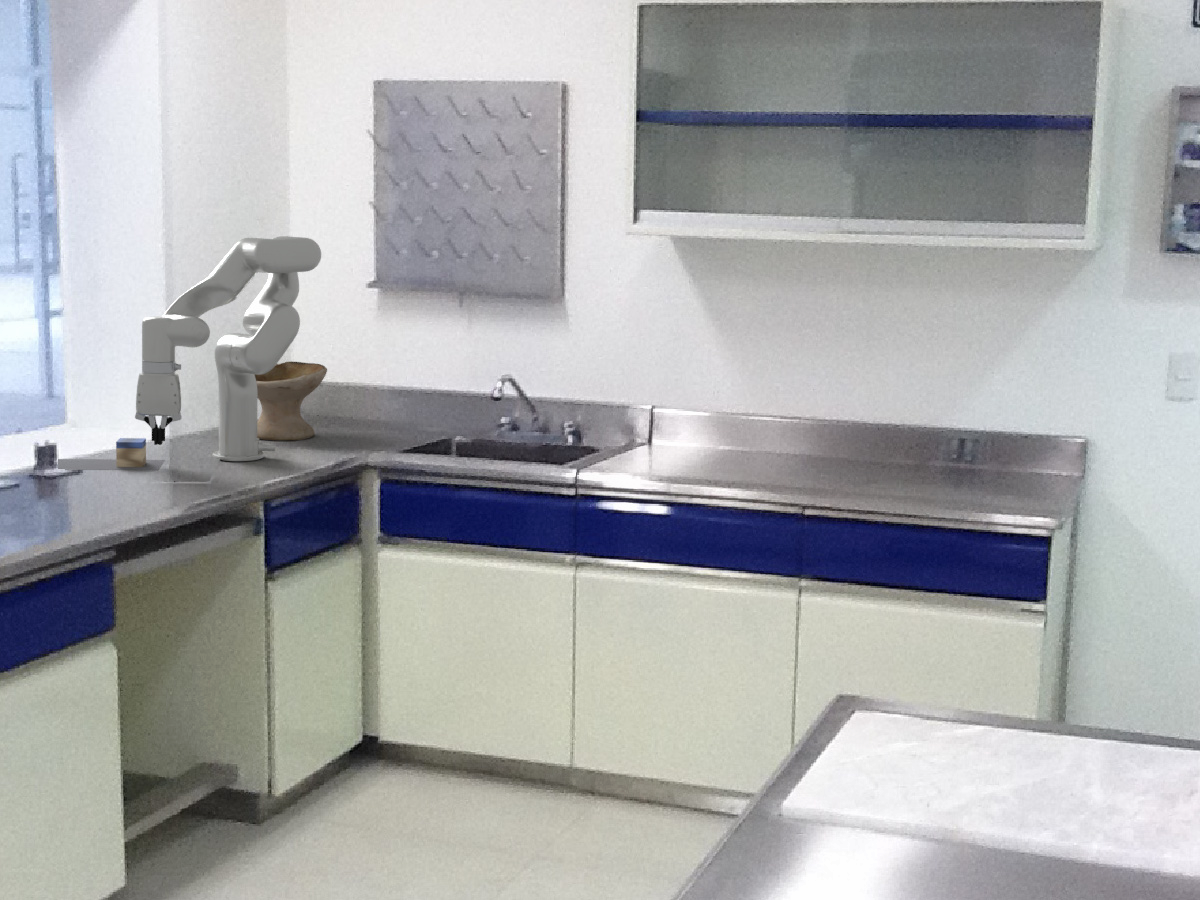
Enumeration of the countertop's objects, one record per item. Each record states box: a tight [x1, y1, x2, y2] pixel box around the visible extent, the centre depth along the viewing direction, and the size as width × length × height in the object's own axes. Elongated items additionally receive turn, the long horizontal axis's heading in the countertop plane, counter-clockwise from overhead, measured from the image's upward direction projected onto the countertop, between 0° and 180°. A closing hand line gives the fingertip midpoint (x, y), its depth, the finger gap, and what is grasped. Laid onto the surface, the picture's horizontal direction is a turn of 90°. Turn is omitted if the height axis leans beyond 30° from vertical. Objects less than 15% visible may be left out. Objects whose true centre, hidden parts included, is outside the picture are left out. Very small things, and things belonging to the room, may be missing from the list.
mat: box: [57, 458, 166, 471], centre depth 334 cm, size 26×14×1 cm, turn 100°
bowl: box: [254, 361, 328, 442], centre depth 388 cm, size 26×25×20 cm
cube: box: [115, 437, 147, 467], centre depth 334 cm, size 6×6×6 cm
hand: (158, 443), depth 335 cm, fingers closed
